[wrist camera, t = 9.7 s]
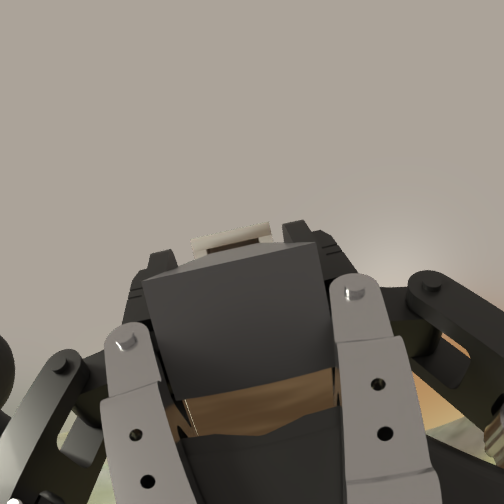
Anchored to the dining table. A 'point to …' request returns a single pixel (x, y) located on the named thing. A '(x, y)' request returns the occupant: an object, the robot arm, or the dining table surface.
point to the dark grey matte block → (241, 318)
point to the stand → (260, 397)
